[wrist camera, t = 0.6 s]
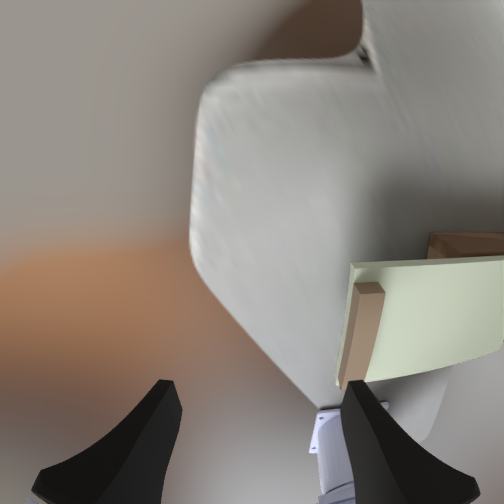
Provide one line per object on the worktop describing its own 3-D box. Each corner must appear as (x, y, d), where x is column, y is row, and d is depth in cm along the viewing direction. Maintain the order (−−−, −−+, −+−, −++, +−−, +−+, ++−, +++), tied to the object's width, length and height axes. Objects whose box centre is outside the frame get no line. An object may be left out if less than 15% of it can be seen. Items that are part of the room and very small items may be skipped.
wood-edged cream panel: (494, 345, 17) (505, 358, 15) (333, 377, 17) (339, 398, 16) (525, 253, 13) (541, 264, 12) (350, 262, 14) (362, 279, 13)
